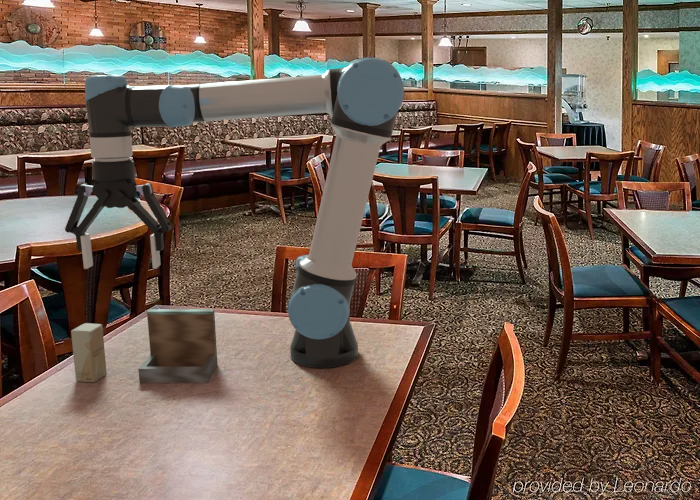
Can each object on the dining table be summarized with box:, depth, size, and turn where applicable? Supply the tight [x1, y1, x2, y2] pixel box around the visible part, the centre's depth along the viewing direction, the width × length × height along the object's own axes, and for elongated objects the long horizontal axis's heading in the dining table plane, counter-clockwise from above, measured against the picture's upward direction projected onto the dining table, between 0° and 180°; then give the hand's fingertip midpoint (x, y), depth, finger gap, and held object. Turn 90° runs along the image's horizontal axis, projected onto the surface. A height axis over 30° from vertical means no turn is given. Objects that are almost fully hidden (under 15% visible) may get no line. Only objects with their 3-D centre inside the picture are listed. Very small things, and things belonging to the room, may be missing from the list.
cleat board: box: [137, 308, 218, 384], centre depth 142 cm, size 14×10×13 cm
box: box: [70, 322, 107, 383], centre depth 141 cm, size 5×4×11 cm
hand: (122, 267), depth 134 cm, fingers open, 13 cm apart
